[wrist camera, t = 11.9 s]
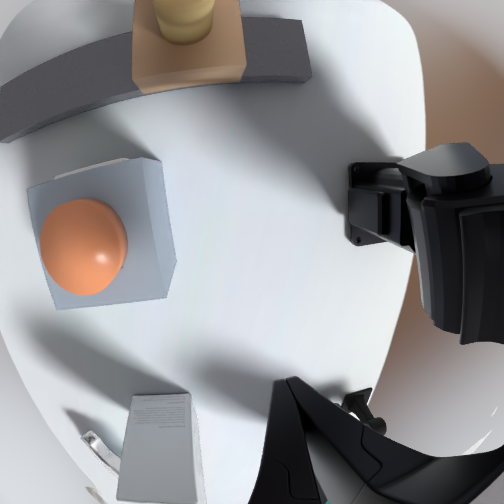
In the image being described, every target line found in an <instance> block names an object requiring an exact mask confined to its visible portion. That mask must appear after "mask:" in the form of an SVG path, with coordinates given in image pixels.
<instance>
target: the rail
mask: <svg viewBox="0 0 504 504" xmlns="http://www.w3.org/2000/svg"><path fill="white" fill-rule="evenodd" d="M241 22H242V30H243V38H244V46H245V54H246V63H247V65H246V67H245V70H244V72H243V75H242V77H241V79H240V82H226V83H215V84H205V85H196V86H189V87H182V88H175V89H169V90H163V91H158V92H153V93H148V94H143V93H142V92H141V90H140V89H139V88H138V87H137V85H136V84H135V83H134V82H133V80H132V41H133V31H132V32H128V33H124V34H121V35H117V36H113V37H110V38H107V39H104V40H100V41H97V42H94V43H91V44H89V45H86V46H83V47H80V48H78V49H75V50H73V51H70V52H68V53H65V54H63V55H60V56H58V57H56V58H54V59H51V60H49V61H47V62H45V63H43V64H41V65H39V66H37V67H35V68H33V69H31V70H29V71H27V72H25V73H23V74H22V75H20V76H18V77H16V78H15V79H13V80H11V81H9V82H8V83H6V84H5V85H3V86H1V88H0V143H9V142H11V141H13V140H15V139H17V138H19V137H22V136H24V135H26V134H28V133H30V132H32V131H35V130H37V129H39V128H42V127H44V126H47V125H49V124H52V123H54V122H57V121H59V120H62V119H65V118H67V117H70V116H73V115H76V114H79V113H82V112H85V111H88V110H91V109H94V108H98V107H101V106H105V105H108V104H112V103H116V102H119V101H123V100H127V99H132V98H136V97H140V96H145V95H150V94H155V93H160V92H166V91H172V90H178V89H185V88H192V87H200V86H209V85H219V84H232V83H250V82H303V83H305V82H306V81H307V80H308V79H310V78H311V77H312V74H311V68H310V62H309V56H308V50H307V45H306V40H305V34H304V29H303V25H302V20H294V19H281V18H257V17H241Z"/></svg>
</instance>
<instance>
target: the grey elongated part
mask: <svg viewBox="0 0 504 504" xmlns="http://www.w3.org/2000/svg"><path fill="white" fill-rule="evenodd" d="M81 440H82V441H83V442H84V443H85V444H86V446H87V447H88V448H89V449H90V450H91V451H92V453H93V454H94V456H95V457H96V458H97V459H98V460H99V461H100V462H101V463H102V464H103V465H104V466H105V467H106V468H107V469H108V470H109V471H110V472H111V473H112V474H113V475H114V476H115V477H116V478H117V479H118V478H119V469H120V462H121V459H120V458H119V457H118V456H116V455H115V454H114V453H112V452H111V451H110V450H109V449H108V448H107V447H106V445H105V444H104V443H103V442H102V440H101V439H100V438H99V437H98V436H97V435H96V434H95V433H94V432H92V431H91V430H90V431H88V432H87V433H86V434H85V435H83V436H82V437H81Z"/></svg>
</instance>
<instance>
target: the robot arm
mask: <svg viewBox="0 0 504 504" xmlns="http://www.w3.org/2000/svg"><path fill="white" fill-rule="evenodd" d="M355 166H356V168H357V171H356V172H355V171H354V167H355ZM348 171H349V188H350V189H349V190H348V201H349V223H350V224H351V243H352V244H353V245H355V246H363V245H369V244H376V243H382V242H390V243H392V244H395V245H397V246H399V247H401V248H403V249H406V250H408V251H410V252H412V253H414V254H416V256H417V262H418V270H419V280H420V290H421V300H422V304H423V307H424V310H425V312H426V313H427V314H428V315H429V317H430V318H431V319H432V320H433V324H434V325H435V326H436V327H438V328H440V329H442V330H444V331H447V332H451V333H454V334H460V344H462V345H464V344H469V343H474V342H486V341H487V342H489V341H490V342H496V343H500V344H504V164H489V162H488V160H487V159H486V158H485V157H484V156H483V155H482V154H481V153H479V152H478V151H477V150H476V149H475V148H474V147H473V146H472V145H470V144H469V143H467V142H463V143H451V144H441V145H438V146H436V147H433V148H431V149H429V150H426V151H424V152H421V153H419V154H416V155H414V156H411V157H409V158H407V159H404V160H402V161H399V162H397V163H382V162H354V163H351V164H350V165H349V168H348ZM357 237H359V240H358V241H357V242H356V238H357ZM314 473H315V474H314ZM315 475H316V477H317V479H318V481H319V483H320V485H321V487H322V489H323V491H324V493H325V495H326V497H327V499H328V501H329V503H330V504H504V445H503V446H501V447H499V448H498V449H495V450H493V451H489V452H484V453H477V454H470V455H462V456H453V457H434V456H429V455H426V454H423V453H421V452H418V451H416V450H413V449H411V448H409V447H406V446H404V445H402V444H400V443H397V442H395V441H393V440H391V439H389V438H387V437H385V436H383V435H382V434H380V433H378V432H376V431H375V430H373V429H372V428H370V427H369V426H367V425H364V423H362V422H361V421H359V420H358V419H356V418H355V417H353V416H352V415H350V414H349V413H347V412H346V411H344V410H343V409H342V408H340V407H339V406H337V405H336V404H334V403H333V402H332V401H330V400H329V399H327V398H326V397H325V396H323V395H322V394H320V393H319V392H318V391H316V390H315V389H313V388H312V387H311V386H309V385H308V384H307V383H305V382H304V381H303V380H301V379H300V378H299V377H297V376H293V377H289V378H286V379H280V380H275V381H273V386H272V394H271V401H270V408H269V415H268V421H267V428H266V435H265V441H264V447H263V454H262V459H261V464H260V469H259V473H258V477H257V480H256V483H255V486H254V489H253V492H252V494H251V497H250V500H249V502H248V504H322V503H321V500H320V499H321V498H320V494H319V490H318V486H317V482H316V478H315Z"/></svg>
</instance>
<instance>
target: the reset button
mask: <svg viewBox="0 0 504 504" xmlns="http://www.w3.org/2000/svg"><path fill="white" fill-rule="evenodd" d="M127 251H128V239H127V233H126V229H125V227H124V224H123V222H122V220H121V218H120V217H119V215H118V214H117V213H116V212H115V210H114V209H113V208H111V207H110V206H109V205H108V204H106V203H105V202H102V201H100V200H98V199H94V198H82V199H77V200H74V201H70V202H66V203H64V204H61V205H59V206H57V207H56V208H55V209H54V210H52V211H51V213H50V214H49V215H48V216H47V218H46V220H45V222H44V224H43V226H42V229H41V234H40V252H41V257H42V260H43V263H44V265H45V268H46V270H47V271H48V273H49V275H50V276H51V277H52V279H53V280H54V281H55V282H56V283H57V284H58V285H59V286H61V287H62V288H63V289H65V290H67V291H69V292H71V293H73V294H77V295H92V294H96V293H98V292H100V291H102V290H103V289H105V288H106V287H107V286H108V285H109V284H110V283H111V281H112V280H113V279H114V277H115V276H116V275H117V274H118V272H119V271H120V270H121V268H122V266H123V265H124V262H125V260H126V256H127Z"/></svg>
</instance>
